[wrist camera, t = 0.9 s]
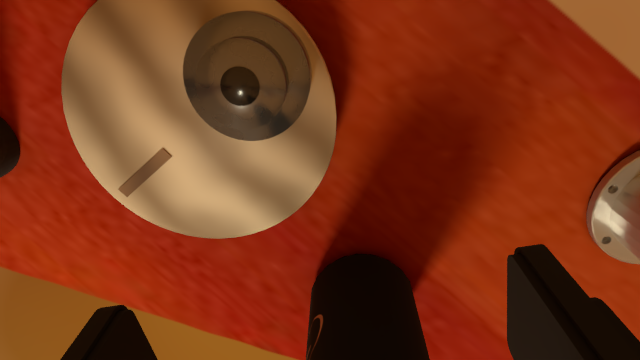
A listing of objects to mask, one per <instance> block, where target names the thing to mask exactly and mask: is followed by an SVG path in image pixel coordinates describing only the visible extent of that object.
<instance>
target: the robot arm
mask: <svg viewBox="0 0 640 360" xmlns="http://www.w3.org/2000/svg"><path fill="white" fill-rule="evenodd" d="M587 226H588V230H589V233H590V235H591V237H592V238H593V240H594V242H595V243H596V244H597V245H598V246H599V247H600V248H601V249H602V250H603V251H604V252H606V253H607V254H608V255H610V256H611V257H613V258H615V259H618V260H620V261H623V262H627V263H632V264H640V150H639V151H636V152H635V153H633V154H631V155H630V156H628V157H626V158H625V159H623V160H622V161H621V162H619V163H618V164H617V165H616V166H614V167H613V168H612V169H611V170H610V171H609V172H608V173H607V174H606V175H605V176H604V177H603V179H602V180H601V181H600V183H599V184H598V186H597V187H596V189H595V190H594V192H593V194H592V197H591V199H590V201H589V205H588V210H587ZM507 341H508V346H509V349H510V352H511V355H512V357H513V359H514V360H640V342H639V340H638V339H637V338H636V337H635V336H634V335H633V334H632V333H631V331H630V330H629V329H628V328H627V327H626V326H625V325H624V324H623V322H622V321H621V320H620V319H619V318H618V317H617V316H616V315H615V313H614V312H613V311H612V310H611V309H610V308H609V307H608V306H607V305H606V304H605V303H604V302H603V301H602V300H601V299H598V298H596V297H594V298H589V296H588V295H587V294H586V293H585V292H584V291H583V289H582V288H581V287H580V286H579V285H578V284H577V282H576V281H575V280H574V279H573V278H572V277H571V275H570V274H569V273H568V272H567V271H566V270H565V268H564V267H563V266H562V265H561V264H560V262H559V261H558V260H557V259H556V258H555V257H554V255H553V254H552V253H551V252H550V251H549V250H548V248H547V247H546V246H544V245H542V244H539V245H532V246H525V247H518V248H516V249H515V253H514V255H509V256H508V259H507ZM61 360H157V358H156V356H155V354H154V352H153V350H152V348H151V346H150V344H149V342H148V340H147V338H146V336H145V334H144V332H143V330H142V328H141V326H140V324H139V322H138V320H137V318H136V316H135V314H134V313H133V311H131V310H128V309H127V307H125V306H124V305H117V306H110V307H104V308H100V309H97V310H96V312H95V313H94V314H93V315H92V317H91V318H90V319H89V321H88V322H87V324H86V325H85V326H84V328H83V329H82V331H81V332H80V333H79V335H78V336H77V338H76V339H75V340H74V342H73V343H72V344H71V346H70V347H69V348H68V350H67V351H66V353H65V354H64V355H63V357H62V358H61Z"/></svg>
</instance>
